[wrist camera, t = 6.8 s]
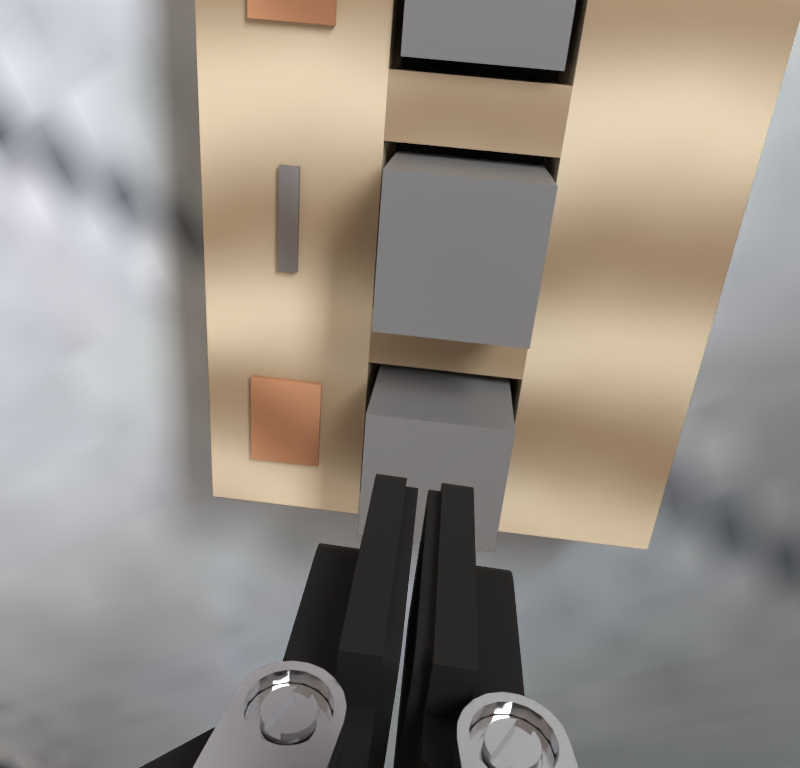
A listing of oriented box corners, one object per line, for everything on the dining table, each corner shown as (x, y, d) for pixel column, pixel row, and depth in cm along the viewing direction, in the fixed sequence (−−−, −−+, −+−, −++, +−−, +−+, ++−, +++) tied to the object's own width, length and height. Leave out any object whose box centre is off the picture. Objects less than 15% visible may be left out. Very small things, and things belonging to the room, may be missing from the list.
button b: (398, 150, 21) (382, 169, 18) (542, 164, 21) (557, 186, 18) (387, 289, 23) (371, 331, 20) (520, 303, 23) (529, 349, 19)
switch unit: (236, -175, 21) (183, -226, 17) (786, -133, 20) (859, -178, 16) (244, 443, 30) (210, 499, 26) (625, 488, 29) (648, 553, 25)
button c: (381, 361, 24) (366, 413, 21) (508, 375, 24) (515, 431, 21) (373, 469, 26) (357, 535, 23) (491, 483, 26) (494, 552, 22)
